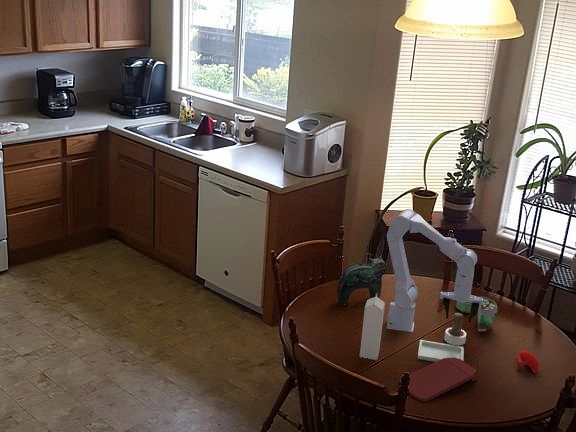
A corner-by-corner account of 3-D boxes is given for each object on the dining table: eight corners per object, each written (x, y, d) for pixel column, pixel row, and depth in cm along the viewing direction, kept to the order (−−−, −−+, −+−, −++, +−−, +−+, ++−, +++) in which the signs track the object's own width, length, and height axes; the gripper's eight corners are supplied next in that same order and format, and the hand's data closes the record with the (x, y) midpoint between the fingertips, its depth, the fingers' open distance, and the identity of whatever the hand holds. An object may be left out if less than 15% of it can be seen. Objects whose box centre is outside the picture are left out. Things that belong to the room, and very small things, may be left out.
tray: (417, 359, 238) (417, 355, 237) (419, 344, 248) (420, 339, 247) (462, 367, 235) (463, 363, 234) (462, 351, 245) (463, 347, 244)
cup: (444, 344, 249) (445, 335, 248) (444, 334, 256) (446, 326, 254) (464, 347, 247) (466, 339, 246) (464, 338, 254) (466, 329, 253)
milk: (359, 357, 237) (365, 298, 230) (362, 348, 243) (367, 290, 235) (377, 360, 236) (383, 301, 229) (379, 351, 242) (386, 293, 234)
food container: (495, 337, 256) (499, 312, 253) (477, 334, 257) (482, 310, 254) (492, 321, 268) (497, 297, 264) (476, 319, 269) (480, 295, 265)
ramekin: (481, 307, 278) (483, 297, 277) (474, 316, 271) (475, 306, 270) (459, 301, 283) (461, 291, 281) (451, 309, 275) (453, 299, 274)
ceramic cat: (377, 294, 284) (382, 248, 277) (386, 301, 278) (391, 255, 272) (334, 301, 276) (338, 254, 269) (341, 308, 270) (346, 260, 264)
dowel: (450, 341, 250) (454, 316, 247) (450, 337, 253) (454, 312, 250) (459, 342, 249) (463, 317, 246) (459, 338, 252) (463, 313, 249)
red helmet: (510, 358, 236) (525, 357, 231) (518, 347, 239) (533, 346, 235) (522, 377, 237) (537, 376, 232) (530, 366, 241) (545, 365, 236)
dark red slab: (421, 413, 216) (481, 383, 227) (421, 400, 214) (481, 370, 225) (396, 393, 225) (454, 364, 237) (396, 380, 223) (455, 352, 235)
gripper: (441, 286, 242) (436, 321, 246) (485, 292, 239) (479, 328, 243) (442, 277, 248) (437, 312, 253) (484, 284, 245) (479, 318, 250)
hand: (458, 319), depth 248 cm, fingers open, 7 cm apart
